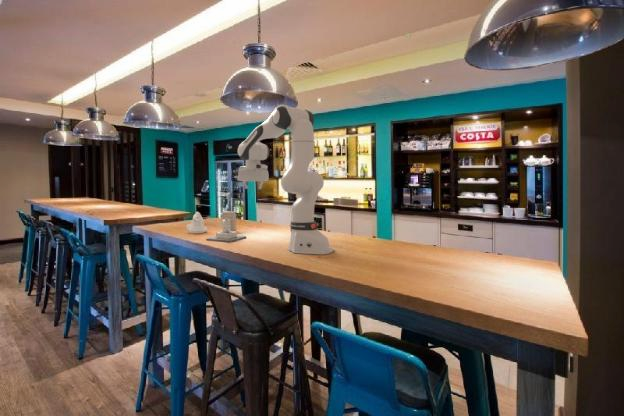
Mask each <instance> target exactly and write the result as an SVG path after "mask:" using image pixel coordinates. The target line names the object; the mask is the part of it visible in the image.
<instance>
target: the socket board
mask: <svg viewBox="0 0 624 416" xmlns="http://www.w3.org/2000/svg"><path fill="white" fill-rule="evenodd" d="M244 239H247V236H246V235H238V232H237V231H230V233H223V231H222V230H221V231H218V232H215V235H214V236H210V237H207V238H206V239H205V240H206V241H210V242H220V243H221V242H222V243H223V242H224V243H232V242H233V243H234V242H236V241H240V240H244Z"/></svg>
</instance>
